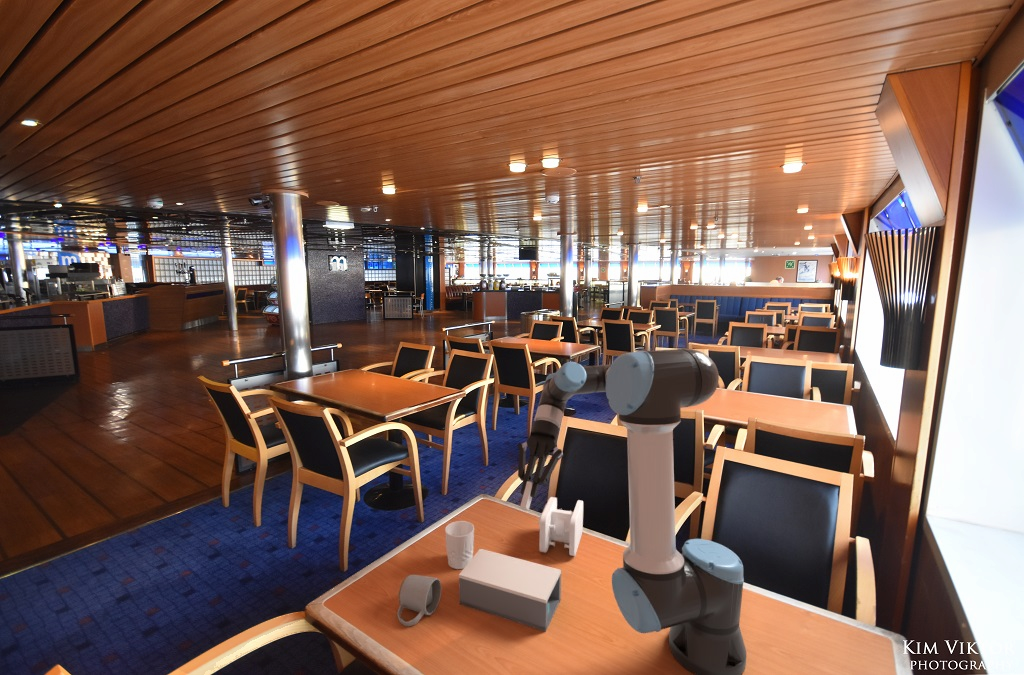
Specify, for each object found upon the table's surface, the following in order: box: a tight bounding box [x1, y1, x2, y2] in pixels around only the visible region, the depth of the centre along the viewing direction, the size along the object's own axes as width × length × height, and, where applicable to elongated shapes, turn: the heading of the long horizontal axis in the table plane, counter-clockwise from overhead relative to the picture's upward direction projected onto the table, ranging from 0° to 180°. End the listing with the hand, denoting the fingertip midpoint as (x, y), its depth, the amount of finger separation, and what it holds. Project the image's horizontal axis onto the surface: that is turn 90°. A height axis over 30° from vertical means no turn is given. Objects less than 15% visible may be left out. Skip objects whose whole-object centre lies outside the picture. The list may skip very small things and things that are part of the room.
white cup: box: [444, 520, 475, 570], centre depth 130 cm, size 8×8×10 cm
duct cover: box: [458, 548, 562, 603], centre depth 114 cm, size 22×11×1 cm, turn 67°
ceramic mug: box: [397, 574, 442, 627], centre depth 111 cm, size 11×8×8 cm
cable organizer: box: [537, 496, 584, 557], centre depth 138 cm, size 15×11×12 cm
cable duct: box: [458, 573, 562, 632], centre depth 114 cm, size 22×11×7 cm, turn 67°
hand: (524, 508), depth 120 cm, fingers closed
